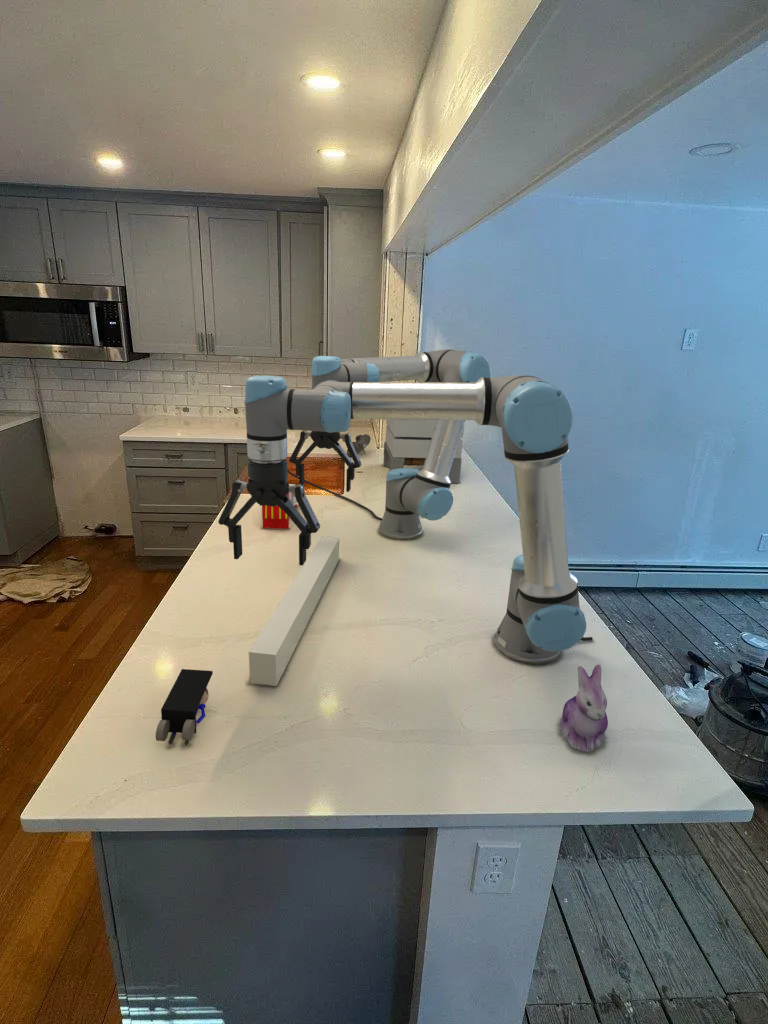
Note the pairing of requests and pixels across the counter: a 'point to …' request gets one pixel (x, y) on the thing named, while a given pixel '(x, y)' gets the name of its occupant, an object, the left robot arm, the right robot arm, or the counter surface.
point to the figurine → (586, 712)
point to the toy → (277, 514)
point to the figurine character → (184, 705)
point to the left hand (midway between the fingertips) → (325, 488)
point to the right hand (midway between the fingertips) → (270, 559)
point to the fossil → (360, 443)
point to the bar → (292, 614)
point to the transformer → (414, 445)
